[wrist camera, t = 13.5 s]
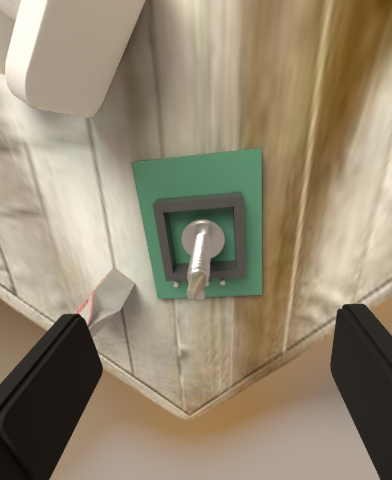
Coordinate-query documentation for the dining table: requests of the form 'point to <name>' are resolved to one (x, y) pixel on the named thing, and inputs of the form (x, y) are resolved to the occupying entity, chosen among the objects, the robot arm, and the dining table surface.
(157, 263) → the board
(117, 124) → the dining table surface
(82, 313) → the tea bag
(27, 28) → the cable organizer
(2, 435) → the robot arm
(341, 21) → the dining table surface
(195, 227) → the screw
